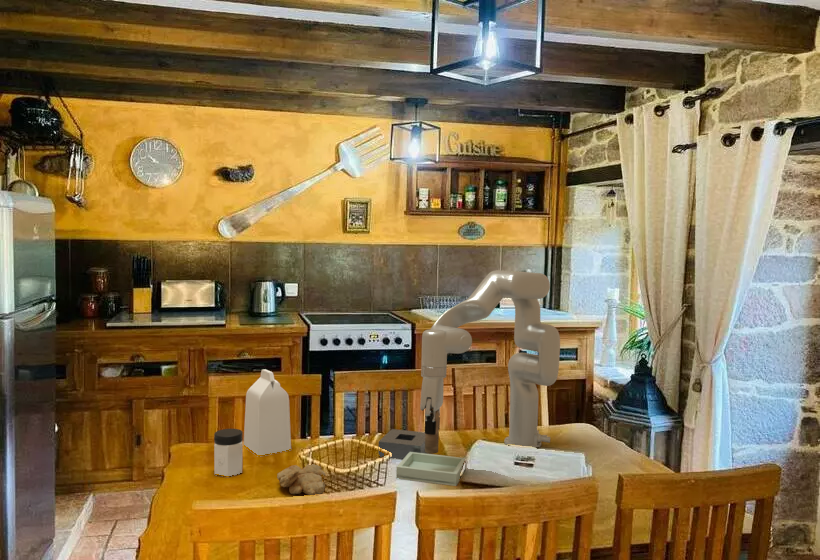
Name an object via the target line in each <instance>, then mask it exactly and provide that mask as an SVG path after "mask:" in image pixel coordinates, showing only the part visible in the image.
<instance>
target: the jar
mask: <svg viewBox="0 0 820 560" xmlns="http://www.w3.org/2000/svg"><path fill="white" fill-rule="evenodd" d="M213 436H214V437H213V440H214V445H213V447H214V449H213V451H214V452H213V453H214V454H213V456H214V457H213V458H214V460H213V461H214V475H215V474H219V475H224V476H231V477H233V476H232V475H234V476H237V474H238V475H241V474H240V473H243V441H244V431H243V430H241V429H237V428H225V429H220V430H216V431H215V432H214V435H213Z"/></svg>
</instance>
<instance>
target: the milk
mask: <svg viewBox="0 0 820 560" xmlns="http://www.w3.org/2000/svg"><path fill="white" fill-rule="evenodd" d="M244 409H245V410H244V411H245V413H244V431H243V446H244V445H245V446H246V447H248V448H249V449H250V450H252V451H253V452H254V453H256V454H257V455H265V454H270V453H271V454H270V455H273V454H272V453H275V454H278V453H277V452H280V453H283V452H282V451H285V452H287V451H286V450H289V449H291V450H292V440H291V438H292V436H291V418H290V417H291V414H290V413H291V412H290V396H289V393H288V392H287V391H286V390H285V389H284V388H283V387H282V386H281V383H280V382H279V381H278V380H276V379H275V375H274V372H272V370H271V371H270V370H268V369H266V368H265V369H261V372H260V377H259V378H257V380H256V381H255V382H254V383H253V384H252V385H251V386H250V387H249V388H248V389H247V391H246V393H245V408H244ZM289 451H290V450H289ZM254 453H253V454H254ZM265 456H266V455H265Z"/></svg>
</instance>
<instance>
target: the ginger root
mask: <svg viewBox="0 0 820 560" xmlns="http://www.w3.org/2000/svg"><path fill="white" fill-rule="evenodd" d="M322 474H323V475H324V476H326V475H327V474H326V472H325V471H324V470H323V469H322V467H321V465H320V466H318V465H315V464H312V465H309V463H307V464H306V466H305V467H303V468H301V467H300V466H298V464H295V465H291V466H289V467H286V468H285V469H283V470H282V471H280V472H278V473H277V476H276V478H277V480H278V482H279V486H280V487H283V488H288V487H289V488H288V491H289V494H292V495H299V494H301V493H304V494H306V495H308V496H310V495H315V494H319V495H321V494H323V492H324V491H325V487H326V483H325V481H324V482H322V477H321V475H322Z"/></svg>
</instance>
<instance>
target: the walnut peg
mask: <svg viewBox="0 0 820 560" xmlns="http://www.w3.org/2000/svg"><path fill="white" fill-rule="evenodd" d="M432 411H434V410H432ZM431 414H432V415H433V413H431ZM439 417H440V416H439V411H436V413H435V421H436V434H435V435H431V434H425V452H426V453H427V454H437V453H439V436H440V435H439V433H440V432H439V431H440V429H439Z"/></svg>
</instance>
